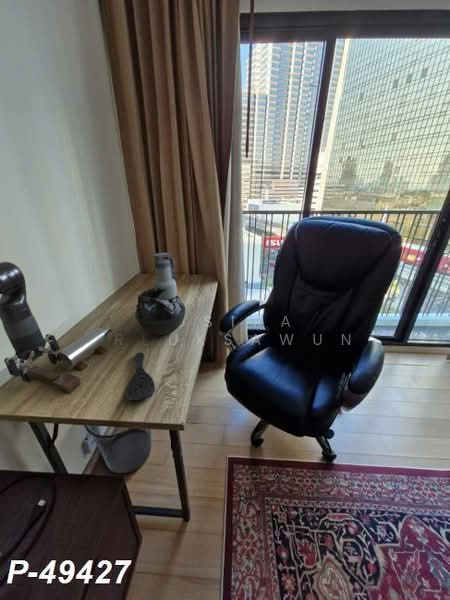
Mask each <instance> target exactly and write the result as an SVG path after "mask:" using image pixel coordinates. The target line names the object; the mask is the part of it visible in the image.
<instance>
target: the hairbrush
mask: <svg viewBox="0 0 450 600" xmlns="http://www.w3.org/2000/svg"><path fill="white" fill-rule="evenodd" d="M133 359H134V361H135V371H134V373H133V374H132V377H131V379H130V381H129V382H128V383H127V386H126V387H127V388H126V392H125V393H126V399H127V401H129V402H130V403H138V402H143V401H145V400H147V399H149V398H151V397H152V396H153V395H154V393H155V391H156V386H155V382H154V379H153V377H152V376H151V375H150V373H149V372H147V370H146V369H144V364H143V363H144V359H145V354H144V352H141V351H140V352H137V353H136V354H134V357H133Z"/></svg>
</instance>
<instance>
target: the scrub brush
mask: <svg viewBox="0 0 450 600" xmlns="http://www.w3.org/2000/svg"><path fill="white" fill-rule="evenodd" d="M27 372H28V373H29V375H30V377H31V379H32V378H33V379H35V380H39V381H41V382H44V383H46V384H49V385H52V386H54V387H55V388H56V390H60V391H61V392H64V393H66V394H71V393H72V392H74V391H75V390H76V389H78V387H79V386H81V378H80V377H79V376H77V375H75V374H70V373H68V372H64V373H63V374H61V373H59V372H55V371H52V370H50V369H47V368H43V367H41V366H37V365H33V366H30V367H29V368H28V370H27Z"/></svg>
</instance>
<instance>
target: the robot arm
mask: <svg viewBox="0 0 450 600" xmlns="http://www.w3.org/2000/svg"><path fill="white" fill-rule="evenodd" d="M0 295H1V296H0V321H1V322H2V327H3V329H4V332H5V334H6V336H7V338H8V341H9V342H10V344H11V346H12V349H13V350H14V351H15V354H14V355H13V356H10V357H5V358H4V359H3V361H4V364H5V366H6V369H7V370H8V373H9V375H10V376H13V377H15V378H18V377H20V378H21V379H22V382H25V383H29V384H31V382H33V379H32V377H30V375H29V373H28V371H27V370H28V369H29V368H30V367H31V364H32V362H34V361H35V360H37V359H38V358H40V357H41V356H43V354H44V353H45V354H47V358H48V359H49V363H50V364H51V365H57V364H58V359H57V351H60V349H61V347H60V345H59V342H58V341H57V339H56V337H55V335H54V334H50V333H46V335H45V337H44V336H43V333H42V331H41V329H40V326H39V324H38V321H37V319H36V317H35V316H34V315H33V312H32V309H31V307H30V305H29V303H28V300H27V298H28V297H27V284H26V278H25V275H24V273H23V271H22V270H21V269H20V267H19V266H18V265H16V264H15V263H12V262H10V261H1V262H0ZM47 343H48V344H49V347H50V349H49V348H46V346H47ZM18 359H19V360H18Z"/></svg>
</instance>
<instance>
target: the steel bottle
mask: <svg viewBox="0 0 450 600" xmlns="http://www.w3.org/2000/svg"><path fill="white" fill-rule="evenodd" d="M112 331H113V330H112V328H111V327H110V326H106V327H105V328H102V327H100V328H93V329H92V330H90V331H88V332H87V333H85V334H84V335H83V336H81V337H80V338H78V339H76V340H75V341H73V342H71V344H69V345H68V346H66V347H65V348H63V349H62V350H59V351H58V352H56V357H57V362H59V364H60V365H61V366H62V367H63V368H64V369H67V370H73V369H75V370H79V371H83V370H85V369H86V368H88V363H87V362H84V361H85V360H86V359H87V358H89V357H90V356H91V355H93V354H94V353H95V354H98V355H101V356H102V355H104V354H105V353H106V352H107V351H108V350H107V347H104V345H106V344H107V341H108V339H109V336H110V334H111V333H112Z"/></svg>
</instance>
